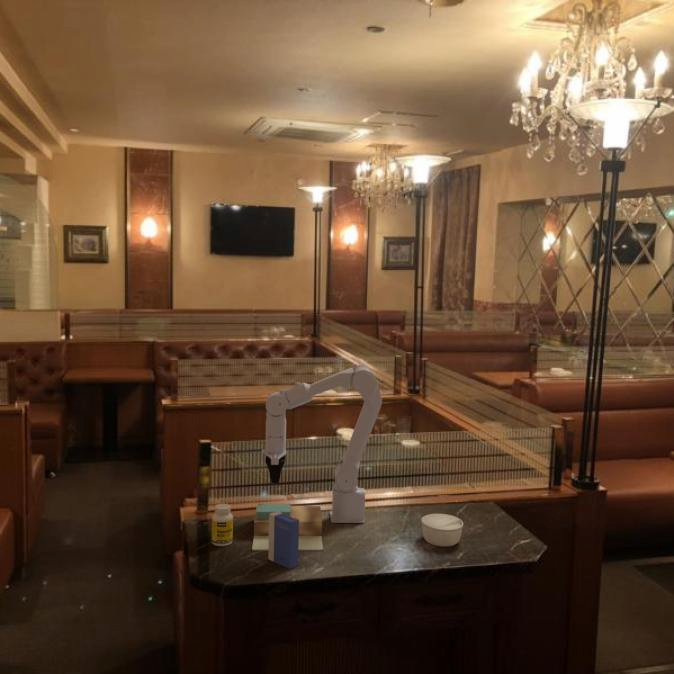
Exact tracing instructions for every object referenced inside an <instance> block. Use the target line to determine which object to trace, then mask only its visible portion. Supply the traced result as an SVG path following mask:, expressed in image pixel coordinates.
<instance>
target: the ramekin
mask: <svg viewBox="0 0 674 674" xmlns="http://www.w3.org/2000/svg"><path fill="white" fill-rule="evenodd" d="M420 524H421V528H422V536H423V538H424V540H425V542H427V543H428V544H430V545H433V546H437V547H445V548H447V547H452V546H453V547H454V546H455V545H456V544H458V543H459V542H460V540H461V535H462V530H463V529H464V522H463V520H462V519H460V518H458V517H457V516H456V515H455V516H454V515H451V514H445V513H431V514H426V515H424V516H422V517H421V519H420Z"/></svg>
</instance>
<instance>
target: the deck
mask: <svg viewBox="0 0 674 674" xmlns="http://www.w3.org/2000/svg"><path fill="white" fill-rule="evenodd" d="M257 507H258V505H256V508H255V514H254V520H253V522H254V524H253V537H254V536H269V519H257ZM321 508H322V507H321V505H291V507H290V516H294V517H296V519H299V536H322V535H323V534H322V533H323V517H322V516H323V515H322V509H321ZM322 537H323V536H322Z"/></svg>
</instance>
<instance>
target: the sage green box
mask: <svg viewBox="0 0 674 674" xmlns="http://www.w3.org/2000/svg"><path fill="white" fill-rule="evenodd" d="M257 506H258V507H257ZM257 506H256V508H257V519H269V514H270V513H273V512H277V511H278V512H281V513H284V514H286V515H289V516H290V507H291V506H292V505H291V503H257Z"/></svg>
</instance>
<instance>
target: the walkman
mask: <svg viewBox="0 0 674 674" xmlns="http://www.w3.org/2000/svg"><path fill="white" fill-rule="evenodd" d="M298 545H299V519H296V517H294V516H289V515H286V514H284V513H281V512H278V511H277V512H273V513H270V514H269V551H268V556H267V557H268V560H270V561H271V562H274V563H275V564H278V565H280V566H283V567H285V568H286V569H289V570H291V569H294V568H296V567H298V566H299V551H298Z"/></svg>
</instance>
